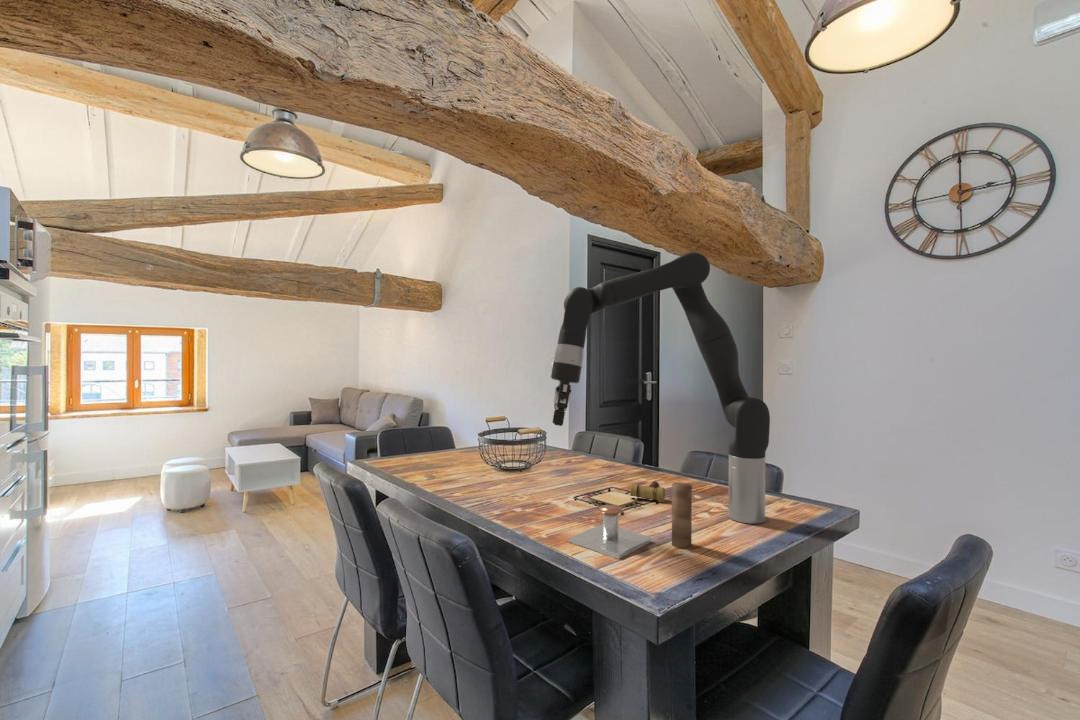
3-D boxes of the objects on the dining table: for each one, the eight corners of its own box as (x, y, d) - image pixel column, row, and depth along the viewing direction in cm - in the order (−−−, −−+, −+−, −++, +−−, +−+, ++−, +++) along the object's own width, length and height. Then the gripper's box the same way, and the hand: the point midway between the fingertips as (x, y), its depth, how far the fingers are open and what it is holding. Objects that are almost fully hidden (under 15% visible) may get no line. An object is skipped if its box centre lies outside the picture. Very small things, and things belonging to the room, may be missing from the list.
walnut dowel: (677, 539, 116) (677, 481, 116) (694, 544, 113) (695, 484, 113) (668, 544, 112) (668, 484, 112) (686, 550, 109) (686, 488, 109)
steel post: (603, 527, 124) (603, 496, 124) (652, 541, 114) (652, 507, 114) (568, 542, 114) (569, 508, 114) (618, 558, 104) (619, 521, 104)
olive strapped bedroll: (642, 475, 169) (671, 478, 165) (641, 488, 169) (671, 491, 165) (630, 485, 150) (663, 489, 146) (629, 500, 149) (662, 504, 146)
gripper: (584, 363, 120) (573, 428, 118) (579, 367, 134) (569, 425, 132) (554, 358, 120) (543, 423, 118) (552, 363, 134) (542, 421, 132)
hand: (557, 424), depth 125 cm, fingers open, 8 cm apart
